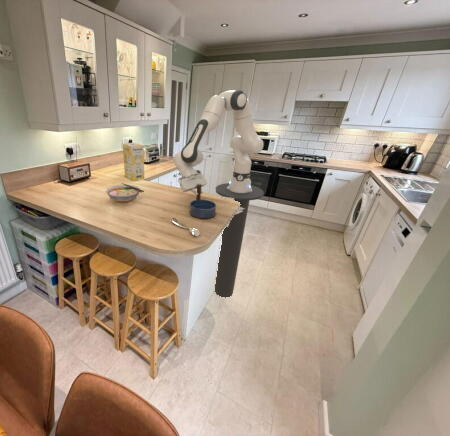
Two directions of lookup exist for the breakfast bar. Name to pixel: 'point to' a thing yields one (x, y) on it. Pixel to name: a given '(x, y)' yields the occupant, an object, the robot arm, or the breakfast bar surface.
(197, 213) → the mixing bowl
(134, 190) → the ramen bowl
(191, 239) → the breakfast bar surface
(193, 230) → the silver metal spoon
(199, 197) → the muddler
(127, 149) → the pasta box
